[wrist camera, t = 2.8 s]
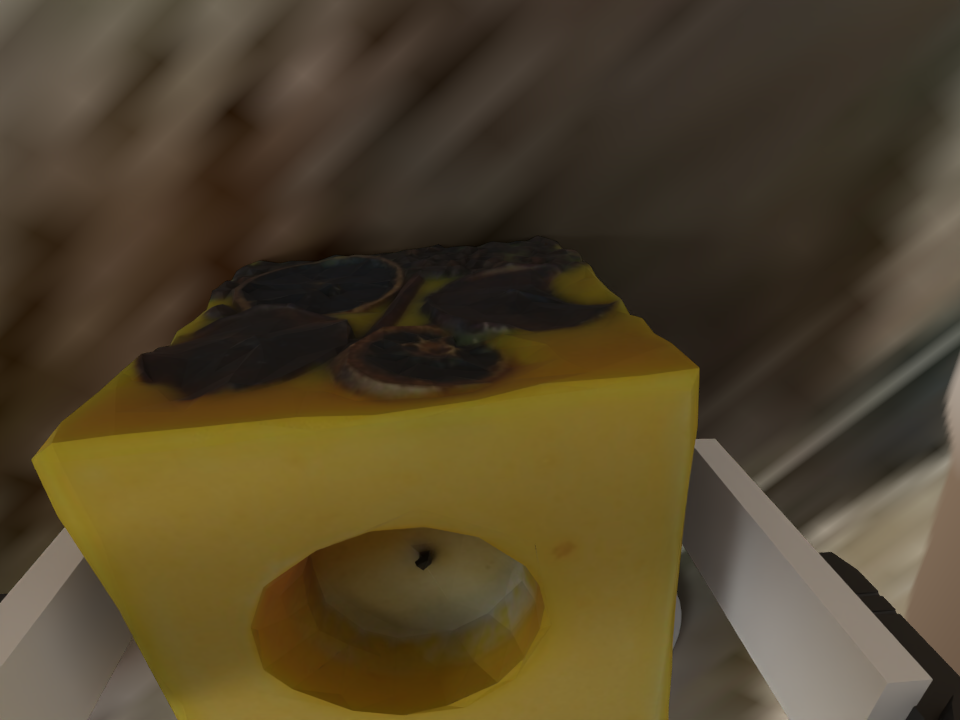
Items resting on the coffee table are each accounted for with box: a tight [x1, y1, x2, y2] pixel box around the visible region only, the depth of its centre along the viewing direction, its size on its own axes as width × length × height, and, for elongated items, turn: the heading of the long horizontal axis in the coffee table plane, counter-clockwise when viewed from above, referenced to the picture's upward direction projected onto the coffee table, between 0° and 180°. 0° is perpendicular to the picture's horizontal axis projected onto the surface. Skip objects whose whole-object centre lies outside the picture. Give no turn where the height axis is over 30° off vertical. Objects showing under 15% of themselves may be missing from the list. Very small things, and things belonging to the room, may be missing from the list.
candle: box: [31, 236, 700, 720], centre depth 14 cm, size 10×10×10 cm
